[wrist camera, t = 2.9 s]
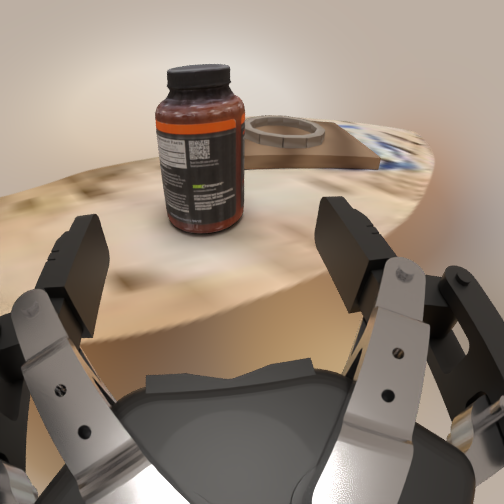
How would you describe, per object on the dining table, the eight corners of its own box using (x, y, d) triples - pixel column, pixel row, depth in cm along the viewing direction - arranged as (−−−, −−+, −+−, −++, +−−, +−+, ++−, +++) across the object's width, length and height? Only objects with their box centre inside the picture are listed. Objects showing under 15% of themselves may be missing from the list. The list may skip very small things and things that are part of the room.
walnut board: (202, 171, 29) (201, 146, 27) (200, 131, 40) (199, 114, 38) (378, 169, 32) (382, 148, 30) (332, 131, 43) (334, 115, 41)
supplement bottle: (217, 189, 26) (216, 61, 19) (259, 219, 23) (267, 66, 16) (155, 210, 24) (140, 70, 16) (189, 248, 20) (175, 72, 13)
